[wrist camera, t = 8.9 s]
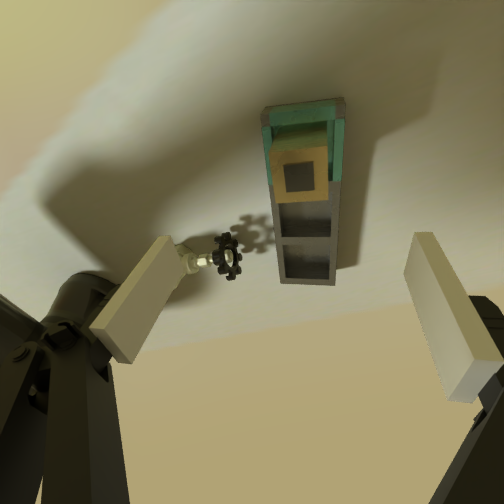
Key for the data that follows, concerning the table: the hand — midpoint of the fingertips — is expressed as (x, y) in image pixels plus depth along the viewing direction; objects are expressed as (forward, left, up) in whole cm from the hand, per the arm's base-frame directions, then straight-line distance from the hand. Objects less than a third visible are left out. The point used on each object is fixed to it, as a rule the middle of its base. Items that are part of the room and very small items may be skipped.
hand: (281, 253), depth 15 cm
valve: (-15, -14, -18) cm, 28 cm away
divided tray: (0, -7, -18) cm, 19 cm away
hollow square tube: (0, 0, -17) cm, 17 cm away
